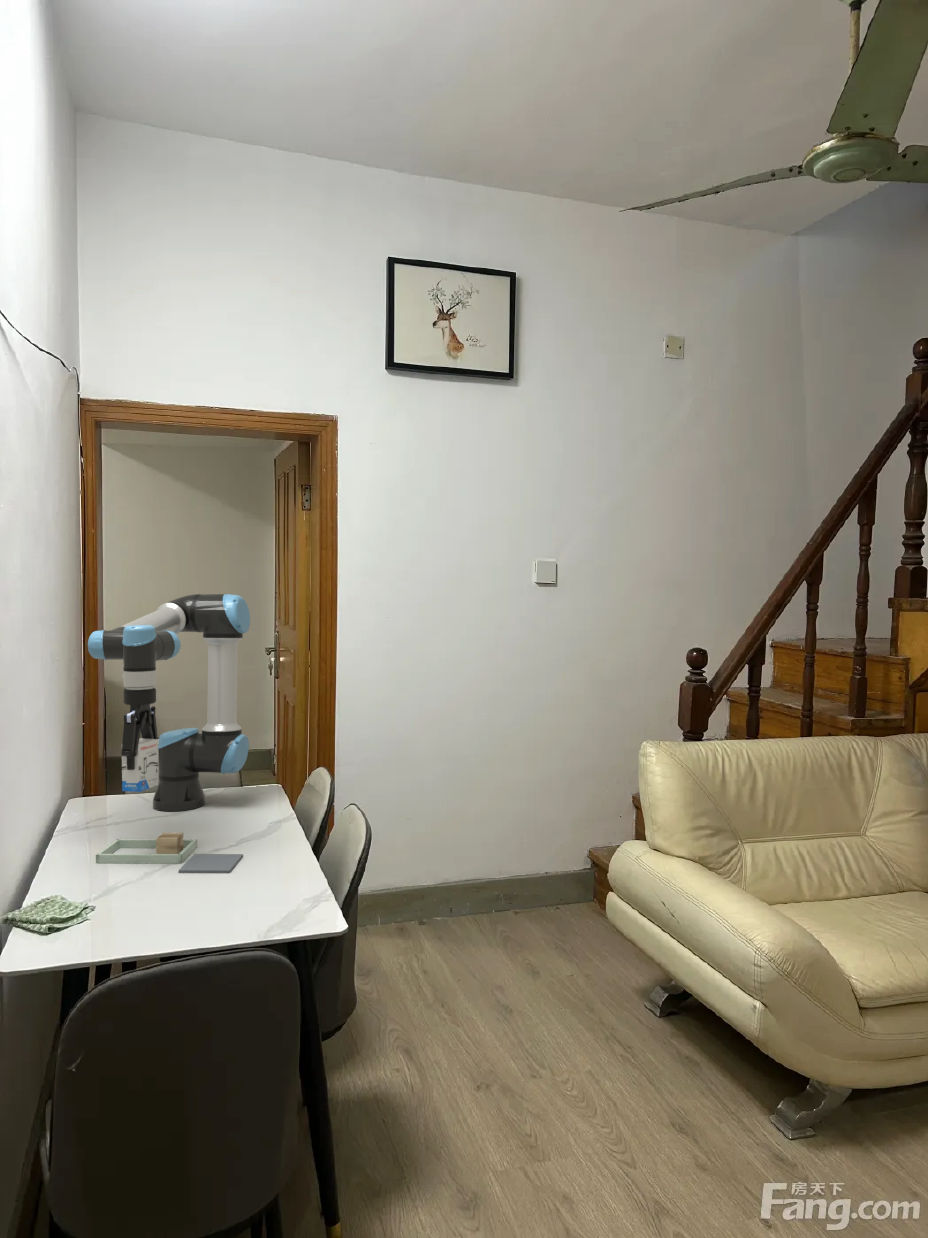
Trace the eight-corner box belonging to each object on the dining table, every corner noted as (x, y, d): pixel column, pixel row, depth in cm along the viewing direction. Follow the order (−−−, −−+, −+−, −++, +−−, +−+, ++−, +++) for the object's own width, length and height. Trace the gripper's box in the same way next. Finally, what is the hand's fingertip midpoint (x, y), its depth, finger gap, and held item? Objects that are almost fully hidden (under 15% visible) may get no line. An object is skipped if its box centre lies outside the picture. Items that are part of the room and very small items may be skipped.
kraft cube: (163, 852, 212) (163, 832, 211) (183, 852, 212) (183, 832, 211) (156, 858, 207) (156, 838, 206) (176, 858, 207) (176, 838, 206)
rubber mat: (194, 856, 208) (194, 854, 208) (242, 856, 208) (242, 854, 208) (178, 873, 196) (178, 870, 196) (229, 873, 196) (229, 870, 196)
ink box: (139, 792, 202) (138, 744, 202) (120, 791, 204) (120, 743, 203) (159, 784, 211) (159, 738, 210) (142, 783, 212) (141, 737, 211)
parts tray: (117, 846, 215) (117, 839, 215) (197, 847, 215) (197, 839, 215) (95, 863, 203) (95, 855, 203) (180, 863, 203) (180, 855, 203)
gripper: (142, 682, 217) (143, 768, 218) (105, 693, 195) (106, 788, 196) (171, 682, 217) (171, 768, 218) (136, 693, 195) (137, 788, 196)
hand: (140, 778), depth 207 cm, fingers closed on ink box, 9 cm apart
